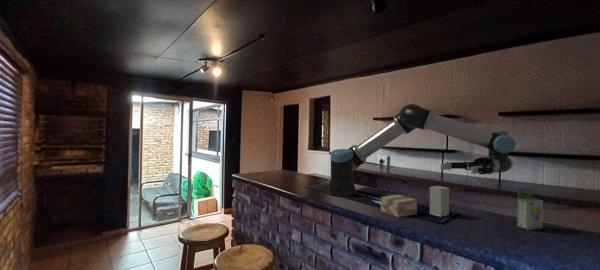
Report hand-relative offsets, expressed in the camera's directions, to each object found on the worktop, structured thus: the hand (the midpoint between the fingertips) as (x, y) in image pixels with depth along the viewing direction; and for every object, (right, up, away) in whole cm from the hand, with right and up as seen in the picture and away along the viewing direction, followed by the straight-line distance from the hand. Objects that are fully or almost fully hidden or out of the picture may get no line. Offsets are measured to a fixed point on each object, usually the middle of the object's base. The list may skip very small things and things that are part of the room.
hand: (455, 168), depth 120 cm
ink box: (+15, -19, -20) cm, 31 cm away
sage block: (-9, -18, -4) cm, 21 cm away
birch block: (-24, -18, -1) cm, 30 cm away
